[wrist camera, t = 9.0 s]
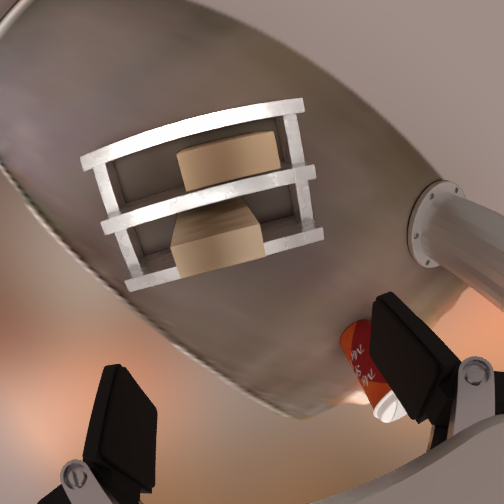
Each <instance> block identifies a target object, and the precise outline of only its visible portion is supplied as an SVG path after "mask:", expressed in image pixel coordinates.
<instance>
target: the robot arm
mask: <svg viewBox="0 0 504 504" xmlns="http://www.w3.org/2000/svg"><path fill="white" fill-rule="evenodd" d="M408 246H409V250H410V253H411V255H412V257H413V259H414V260H415V261H416V262H417V263H419V264H420V265H421V266H423V267H425V268H434V267H437V266H440V265H441V266H442V267H444V268H445V269H447V270H448V271H450V272H451V273H452V274H454V275H455V276H457V277H458V278H459V279H461V280H462V281H464V282H465V283H466V284H468V285H469V286H470V287H472V288H473V289H474V290H476V291H477V292H478V293H480V294H481V295H482V296H484V297H485V298H486V299H488V300H489V301H490V302H491V303H492V304H494V305H495V306H496V307H497V308H499V309H500V310H501V311H502V312H504V216H503V215H501V214H499V213H497V212H495V211H492V210H490V209H488V208H485V207H483V206H481V205H479V204H476V203H474V202H471V201H469V200H466V198H465V195H464V193H463V191H462V189H461V188H460V187H459V186H458V185H457V184H455V183H453V182H450V181H447V180H441V181H437V182H435V183H433V184H431V185H430V186H429V187H428V188H426V190H425V191H424V192H423V193H422V194H421V196H420V197H419V199H418V201H417V202H416V205H415V207H414V209H413V211H412V215H411V218H410V222H409V227H408ZM369 354H370V357H371V359H372V361H373V362H374V364H375V365H376V367H377V368H378V370H379V371H380V373H381V374H382V376H383V377H384V379H385V380H386V382H387V383H388V385H389V386H390V388H391V389H392V391H393V392H394V394H395V395H396V397H397V398H398V400H399V402H400V403H401V405H402V406H403V408H404V409H405V411H406V412H407V414H408V415H409V417H410V418H411V419H412V420H414V419H415V420H416V421H417V422H418V424H419V423H421V422H423V421H424V420H426V419H429V421H430V422H431V424H432V428H431V433H430V438H429V442H428V447H427V451H426V453H425V454H423V455H421V456H419V457H418V458H416V459H414V460H412V461H410V462H408V463H407V464H405V465H403V466H401V467H399V468H397V469H395V470H394V471H391V472H389V473H387V474H385V475H383V476H381V477H379V478H376V479H374V480H372V481H370V482H367V483H365V484H363V485H360V486H358V487H355V488H353V489H350V490H348V491H345V492H342V493H340V494H337V495H334V496H331V497H328V498H325V499H322V500H319V501H315V502H312V503H308V504H504V372H498V371H493V368H492V366H491V364H490V363H489V362H488V361H487V360H486V359H484V358H481V357H477V356H474V357H469V358H467V359H465V360H464V361H463V362H461V361H460V360H459V359H458V358H457V356H456V355H455V354H454V353H453V352H452V351H451V350H450V349H449V348H448V347H447V346H446V345H445V343H444V342H443V341H442V340H441V339H440V338H439V337H438V336H437V335H436V334H435V333H434V332H433V331H432V330H431V329H430V328H429V327H428V326H427V325H426V324H425V323H424V322H423V321H422V320H421V319H420V318H418V317H417V316H416V315H415V314H414V313H413V312H412V311H411V310H410V309H409V308H408V307H407V306H406V305H405V304H404V303H403V302H402V301H401V300H400V299H399V298H398V297H397V296H396V295H395V294H394V293H392V292H388V293H385V294H382V295H380V296H378V297H377V298H376V301H375V302H373V308H372V323H371V335H370V346H369ZM156 433H157V410H156V407H155V406H154V405H153V403H152V402H151V401H150V400H149V398H148V397H147V396H146V394H145V393H144V392H143V390H142V389H141V388H140V387H139V385H138V384H137V383H136V381H135V380H134V378H133V377H132V376H131V374H130V373H129V371H128V370H127V369H126V368H125V367H122V366H121V365H120V364H114V365H107V366H105V367H104V370H103V373H102V376H101V380H100V383H99V387H98V391H97V394H96V398H95V402H94V406H93V410H92V414H91V418H90V422H89V427H88V432H87V436H86V441H85V446H84V451H83V461H81V460H77V459H76V460H71V461H69V462H67V463H66V464H65V465H64V466H63V468H62V470H61V474H60V480H61V483H62V484H61V485H59V486H58V487H57V488H56V489H54V490H53V491H52V492H50V493H49V494H48V495H46V496H45V497H44V498H42V499H41V500H40V501H39V502H38V503H37V504H143V502H142V501H141V500H140V493H152V488H153V487H154V486H155V460H156Z"/></svg>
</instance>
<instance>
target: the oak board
mask: <svg viewBox="0 0 504 504" xmlns="http://www.w3.org/2000/svg"><path fill="white" fill-rule="evenodd" d="M176 155H177V159H178V163H179V166H180V170H181V174H182V178H183V181H184V185H185V189H186V192H187V191H191V190H194V189H198V188H201V187H205V186H209V185H213V184H216V183H220V182H224V181H228V180H232V179H236V178H240V177H244V176H249V175H253V174H257V173H262V172H266V171H271V170H275V169H280V168H281V166H280V161H279V156H278V151H277V145H276V140H275V135H274V131H269V132H251V133H244V134H240V135H235V136H231V137H226V138H222V139H218V140H214V141H210V142H206V143H202V144H198V145H194V146H191V147H187V148H184V149H183V150H181V151H180V152H179V153H177V154H176Z"/></svg>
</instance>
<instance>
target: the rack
mask: <svg viewBox="0 0 504 504" xmlns="http://www.w3.org/2000/svg"><path fill="white" fill-rule="evenodd" d="M302 112H305V109H304V104H303V99H302V98H296V99H288V100H281V101H274V102H267V103H261V104H255V105H250V106H244V107H239V108H234V109H229V110H224V111H220V112H215V113H211V114H207V115H203V116H199V117H195V118H191V119H187V120H184V121H180V122H177V123H173V124H170V125H166V126H163V127H160V128H157V129H153V130H150V131H147V132H144V133H141V134H138V135H135V136H133V137H130V138H127V139H124V140H122V141H119V142H116V143H114V144H111V145H109V146H106V147H103V148H101V149H99V150H96V151H94V152H91V153H89V154H87V155H84V156H82V157H80V160H81V164H82V167H83V171H86V170H89V169H92V168H93V170H94V173H95V176H96V180H97V183H98V186H99V189H100V193H101V196H102V199H103V202H104V205H105V208H106V211H107V214H108V215H107V216H106V217H105V218H104V219H103V220H102V221H101V222H100V223H101V226H102V228H103V231H104V234H105V235H108V234H111V233H115V236H116V238H117V241H118V243H119V246H120V248H121V251H122V253H123V256H124V258H125V261H126V263H127V266H128V268H129V271H128V273H127V276H126V278H125V280H124V282H125V284H126V286H127V288H128V290H129V292H132V291H136V290H140V289H143V288H147V287H151V286H155V285H159V284H162V283H166V282H170V281H174V280H177V279H181V277H180V274H179V272H178V269H177V266H176V263H175V260H174V257H173V254H172V251H171V248H170V249H166V250H163V251H159V252H156V253H152V254H149V255H145V256H144V254H143V251H142V248H141V246H140V243H139V240H138V238H137V235H136V232H135V229H134V226H135V225H139V224H142V223H145V222H148V221H151V220H155V219H158V218H161V217H165V216H168V215H172V214H175V213H178V212H182V211H185V210H189V209H192V208H196V207H200V206H203V205H207V204H211V203H214V202H218V201H222V200H226V199H230V198H234V197H238V196H241V195H245V194H250V193H254V192H258V191H262V190H266V189H270V188H275V187H279V186H283V185H288V186H289V191H290V197H291V203H292V209H293V216H289V217H286V218H282V219H278V220H274V221H270V222H266V223H262V224H260V228H261V233H262V238H263V243H264V248H265V254H266V255H270V254H273V253H277V252H281V251H284V250H288V249H291V248H295V247H299V246H302V245H306V244H310V243H313V242H317V241H320V240H324V234H323V227H322V226H321V225H319V224H318V223H317V222H316V221H314V220H313V213H312V206H311V199H310V192H309V185H308V180H311V179H316V172H315V165H314V164H311V163H308V162H305V160H304V154H303V149H302V143H301V138H300V132H299V127H298V122H297V117H296V114H297V113H302ZM273 117H275V118H276V122H277V127H278V132H279V137H280V142H281V148H282V153H283V158H284V162H280V166H281V168H280V169H275V170H271V171H266V172H262V173H257V174H253V175H249V176H244V177H240V178H236V179H232V180H228V181H224V182H220V183H216V184H213V185H209V186H205V187H201V188H198V189H194V190H191V191H187V192H186V189H185V186H182V187H178V188H175V189H171V190H168V191H165V192H161V193H158V194H155V195H152V196H149V197H145V198H142V199H139V200H136V201H133V202H130V203H127V204H126V203H125V200H124V197H123V193H122V190H121V187H120V184H119V180H118V177H117V174H116V170H115V167H114V163H113V160H116V159H119V158H121V157H124V156H127V155H130V154H132V153H135V152H138V151H141V150H144V149H147V148H150V147H153V146H156V145H160V144H163V143H166V142H169V141H173V140H176V139H180V138H183V137H187V136H191V135H194V134H198V133H202V132H206V131H210V130H214V129H218V128H223V127H227V126H232V125H236V124H241V123H246V122H251V121H256V120H262V119H267V118H273Z"/></svg>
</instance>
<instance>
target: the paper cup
mask: <svg viewBox="0 0 504 504" xmlns="http://www.w3.org/2000/svg"><path fill="white" fill-rule="evenodd" d="M370 335H371V322H370V321H368V320H360V321H357V322H355V323H353V324H351V325H350V326H349V327H348V328H347V329H346V330H345V331H344V332H343V334H342V336H341V338H340V344H341V347H342V349H343V351H344V353H345V355H346V357H347V359H348V361H349V363H350V365H351V367H352V368H353V370H354V372H355V374H356V376H357V378H358V380H359V382H360V384H361V386H362V388H363V389H364V391H365V393H366V395H367V397H368V399H369V401H370V403H371V405H372V407H373V409H374V412H373V414H374V416H375V417H376V418H379V419H380V420H381V421H382V422H385V423H388V422H392V421H394V420H397V419H399V418H401V417H403V416H404V415H406V414H407V412H406V411H405V409H404V408H403V406H402V405H401V403H400V402H399V400H398V398H397V397H396V395H395V394H394V392H393V391H392V389H391V388H390V386H389V385H388V383H387V382H386V380H385V379H384V377H383V376H382V374H381V373H380V371H379V370H378V368H377V367H376V365H375V364H374V362H373V361H372V359H371V357H370V354H369V346H370Z"/></svg>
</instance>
